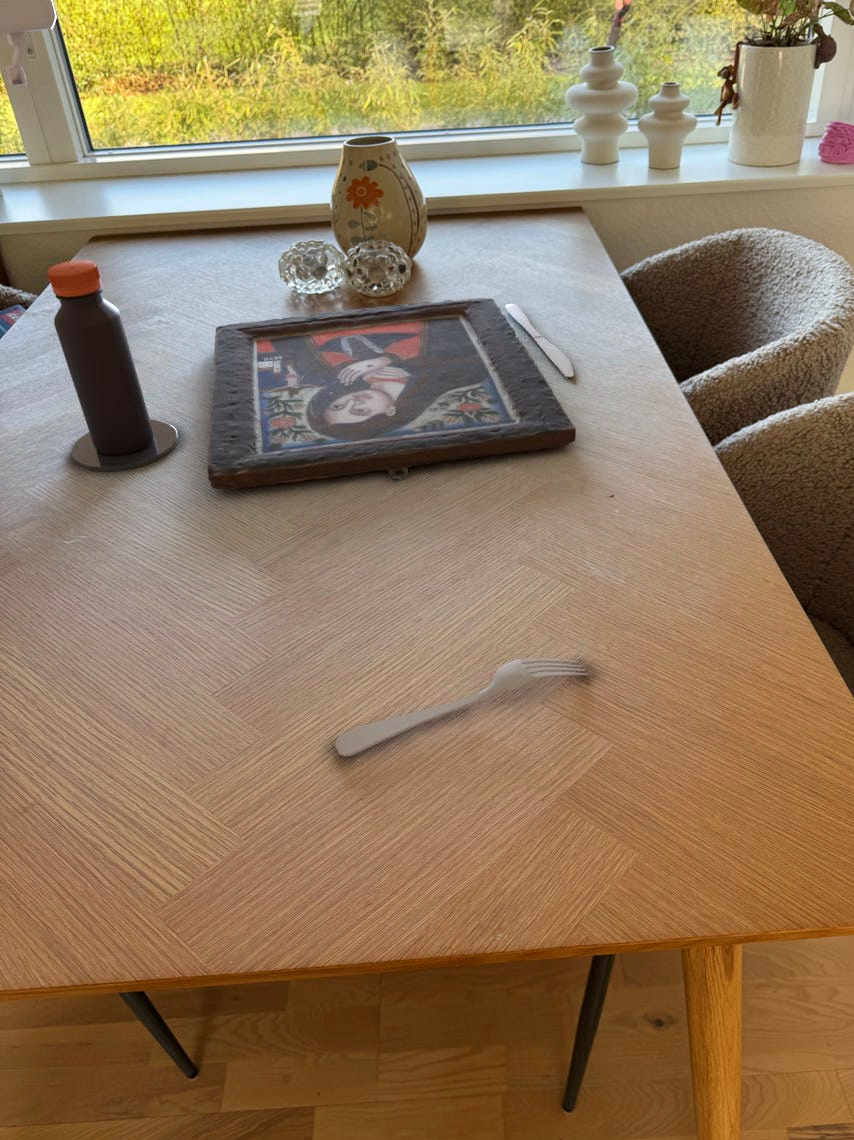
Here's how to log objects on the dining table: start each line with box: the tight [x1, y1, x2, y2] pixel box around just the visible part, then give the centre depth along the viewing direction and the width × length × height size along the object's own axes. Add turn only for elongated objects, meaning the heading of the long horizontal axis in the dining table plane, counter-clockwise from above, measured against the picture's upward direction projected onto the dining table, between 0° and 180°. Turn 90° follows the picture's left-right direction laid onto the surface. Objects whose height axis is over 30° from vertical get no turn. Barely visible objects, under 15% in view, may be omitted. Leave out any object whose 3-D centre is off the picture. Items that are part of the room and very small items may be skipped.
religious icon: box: [207, 297, 577, 491], centre depth 119 cm, size 40×45×3 cm
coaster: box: [71, 418, 179, 472], centre depth 111 cm, size 12×12×1 cm
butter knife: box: [504, 303, 575, 378], centre depth 131 cm, size 1×27×3 cm
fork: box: [334, 657, 590, 758], centre depth 74 cm, size 3×21×3 cm, turn 114°
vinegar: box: [47, 259, 154, 456], centre depth 105 cm, size 7×7×20 cm
